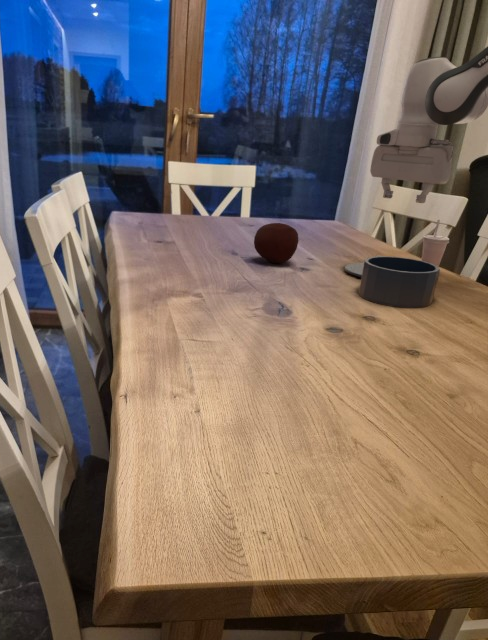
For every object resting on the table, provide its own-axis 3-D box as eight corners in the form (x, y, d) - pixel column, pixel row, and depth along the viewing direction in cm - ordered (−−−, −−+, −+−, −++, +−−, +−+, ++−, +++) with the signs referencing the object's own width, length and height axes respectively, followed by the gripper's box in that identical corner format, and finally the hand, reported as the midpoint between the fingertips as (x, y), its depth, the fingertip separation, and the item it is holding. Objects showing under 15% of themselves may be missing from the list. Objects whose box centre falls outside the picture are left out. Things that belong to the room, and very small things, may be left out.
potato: (272, 255, 163) (276, 217, 159) (305, 265, 153) (310, 225, 149) (242, 258, 157) (245, 219, 153) (274, 269, 148) (279, 228, 143)
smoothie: (409, 272, 152) (421, 217, 146) (429, 271, 154) (442, 217, 148) (425, 278, 147) (438, 222, 141) (446, 277, 149) (459, 222, 142)
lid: (424, 279, 146) (428, 260, 144) (382, 286, 137) (386, 266, 135) (372, 264, 158) (375, 247, 156) (330, 270, 149) (333, 252, 147)
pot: (446, 302, 127) (454, 268, 124) (401, 311, 119) (409, 276, 116) (388, 285, 139) (394, 253, 135) (344, 292, 130) (349, 259, 127)
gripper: (463, 140, 128) (449, 205, 134) (388, 136, 143) (378, 195, 149) (447, 140, 125) (433, 206, 131) (371, 136, 140) (362, 196, 146)
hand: (403, 200), depth 140 cm, fingers open, 8 cm apart
